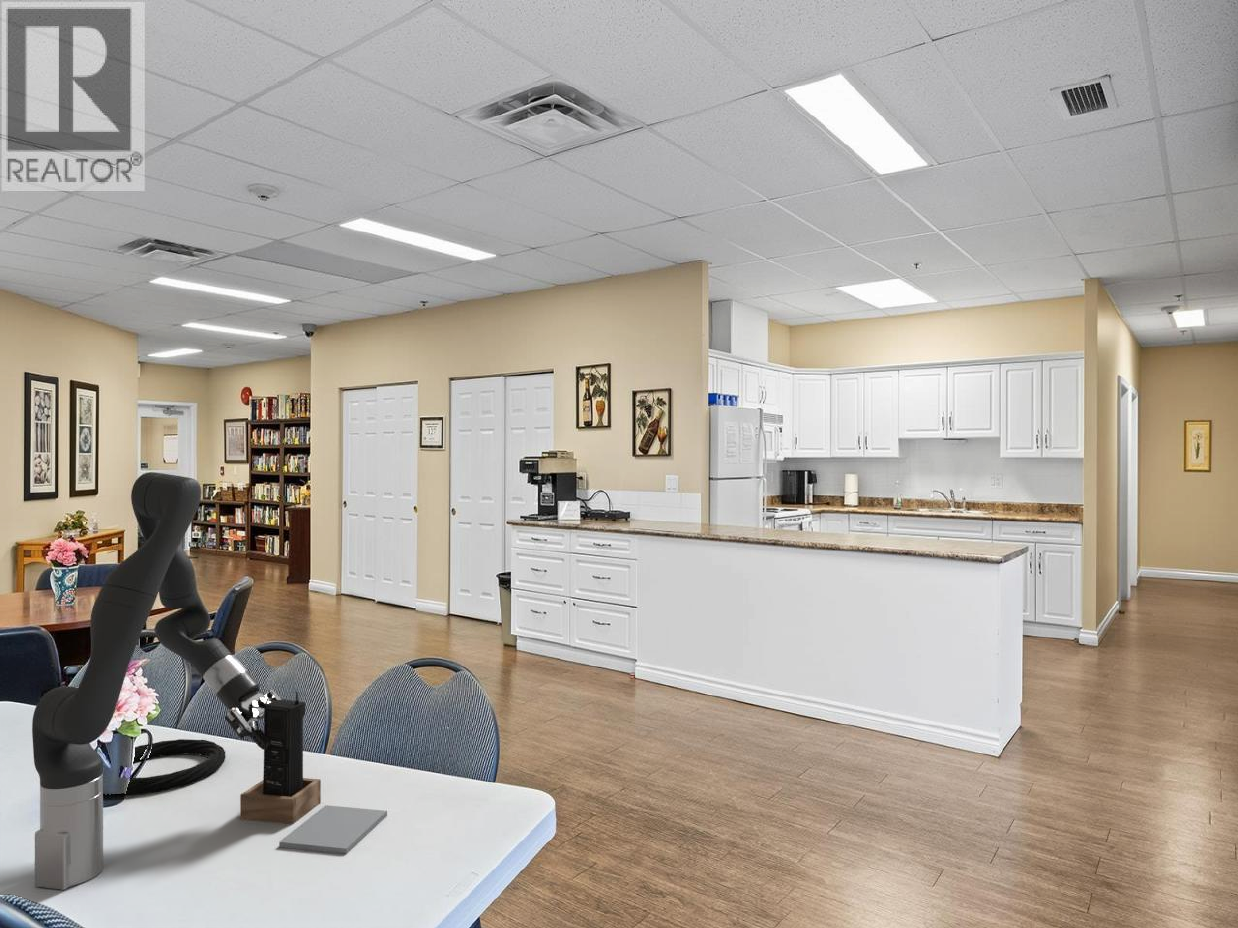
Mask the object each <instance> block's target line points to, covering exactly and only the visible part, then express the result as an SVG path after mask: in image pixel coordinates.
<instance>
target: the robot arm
mask: <svg viewBox="0 0 1238 928" xmlns="http://www.w3.org/2000/svg"><path fill="white" fill-rule="evenodd" d="M130 494H131V495H130V500H131V507H132V510H133V513H134V515H135V519H136V522H137V523H138V526H139V529H140V531H141V535H142V537H143V540H144V543H143V544H142V545H141V546H140V547H139V548H138V549H136V551H135V552H134V551H133V553H131V555H129V556H128V557H126V558H125V559H124V560H123V561H121V562H120V563H119V564H118V565H117V566H115V568H113V569H112V570H111V571H110V572H109V574H108V575H107V576H106V577H105V580H104V581H103V583H102V585H101V588H100V590H99V592H98V594H97V596H96V599H95V601H94V603H93V605H92V609H91V613H90V618H89V619H90V622H89V623H90V624H89V625H90V627H89V628H90V641H91V642H90V645H91V646H90V657H89V661H88V663H87V667H86V669H85V671H84V673H83V676H82V678H81V680H80V683H79V684H78V687H77V686H70V685H65V686H57V687H55V688H53V689H51V690H49V691H47V692H46V693H45V694H44V695H42V696H41V698H40V699H39V701H38V702H37V704H36V706H35V709H34V711H33V715H32V721H31V723H32V724H31V733H32V735H31V736H32V749H33V751H32V752H33V762H34V764H33V765H34V767H35V770H36V772H37V774H38V776H39V829H38V830H36V831H35V832H34V887H37V888H47V889H55V890H63V891H64V890H67V889H68V888H70V887H73V886H75V885H79V884H82V883H85V882H88V881H89V880H92V879H93V878H95V877H96V876H98V875H99V874H101V872H102V871H103V869H104V795H103V761H104V760H103V758H102V756H101V755H100V754H99V753H98V752H97V751H96V750H95V749H94V748H93V747H92V745H91V743H92V742H94V741H96V740H97V739H99V738H100V737H101V736H102V735H103V734H104V733H105V731H106V730H107V728H108V727H109V725H110V723H111V721H112V719H113V716H114V713H115V712H116V708H117V704H118V702H119V698H120V695H121V693H122V687H123V685H124V681H125V678H126V674H127V672H128V669H129V665H130V663H131V660H132V658H133V655H134V653H135V651H136V647H137V645H138V642H139V640H140V636H141V635H142V632H143V629H144V627H145V625H146V623H147V621H148V618H149V617H150V614H151V612H152V610H153V607H154V605H155V602H156V600H157V596H159V601H160V603H161V605H162V606H163V607H164V608H166V609H169V610H176V611H174V612H172V613H170V614H168V615H166V616H164V617H161V619H159V620H158V621H157V622H156V623H155V627H154V634H155V637H156V639H157V641H158V642H159V643H160V644H161V645H162V646H163V647H164V648H166V649H167V650H169V651H170V652H172V653H174V654H175V655H177V656H178V657H180V658H182V659H183V660H185V661H186V662H187V663H189V664H190V665H192V667H193V668H194V669H195V670H196V672H197V673H198V674H199V675H200V676H201V677H202V679H203V680H204V681H205V683H206V684H207V686H208V688H209V689H210V690H211V691H212V692H213V694H214V696H216V697H217V698H218V699H219V701H220V702H221V703H222V704H223V706H224V707H226V708H227V710H228V712H227V713H226V715H225V716H224V719H225V720H226V722H227V723H228V724H229V725H230V727H231V729H233V731H234V732H235V733H236V735H237V736H238V737H239V738H240V739H243V738H245V737H248V738H251V739H252V740H253V742H254V743H255V744H256V745H257V747H259V748H260V749H261V750H263V751H264V749H266V748H267V747H268V746H269V745H270V744H271V741H270V739H269V738H268V737H267V736H266V735H265V734H264V730H262V729H261V728H260V726H259V720H263V719H264V706H265V705H266V704H268V703H271V702H273V701H276V700H282V697H280V696H279V695H278V694H277V693H276V691H275V690H273V689H270V690H269V691H268V692H267V693H266V694H263V693H262V692H261V691H260V688H261V685H260V683H259V682H258V681H257V680H256V678H255V677H254V676H253V675H252V673H251V672H250V671H249V670H248V669H247V668H246V666H245V665H244V664H243V663H242V662H241V661H240V660H239V659H238V658H236V657H235V656H234V655H233V654H232V653H231V652H230V650H229V649H228V648H227V647H226V646H225V645H224V643H223V642H222V641H221V640H220V639H218V638H217V637H211V638H208V639H205V640H195V639H196V638H197V637H199V636H202V635H203V634H204V633H206V632H207V631H208V629H209V628H210V625H211V616H210V613H209V612H208V609H207V608H206V606H205V605H204V603H203V600H202V599H201V597H200V594H199V592H198V587H197V580H196V572H195V569H194V566H193V565H194V564H193V562H192V561H191V558H190V557H189V555H188V554H187V553H186V551H185V550H184V549H183V547H182V546H181V542H182V540H183V538H184V537H185V535H186V533H187V531H188V529H189V527H190V526H191V523H192V522H193V520H194V518H195V516H196V513H197V511H198V509H199V506H200V503H201V499H202V498H201V497H202V487H201V484H200V483H199V481H198V480H196V479H195V478H192V477H189V476H188V477H186V476H181V475H175V474H169V473H164V472H154V471H153V472H152V471H149V472H145V473H143V474H141V475H139V477H138V478H137V479H135V482H134V483H133V485H132V489H131V493H130ZM240 726H242V728H241V727H240Z"/></svg>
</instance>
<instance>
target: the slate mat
mask: <svg viewBox="0 0 1238 928" xmlns="http://www.w3.org/2000/svg"><path fill="white" fill-rule="evenodd" d="M387 816H388V810H384V809H383V810H381V809H380V810H379V809H371V808H370V809H368V808H362V807H359V808H358V807H348V806H339V805H330V804H329V805H328V804H327V805H323V806H322V808H320V809H319V810H318V811H316V812H315V813H314V814H312V816H311V815H310V817H309V818H307V819H305V821H303V822H302V823H301V824H300V825H299V826H297V827H296V828H295V829H293V830H292V831H291V832H290V833H288V834H287V835H286V836H285V837H283V838H282V839H280V840H279V846H278V847H279V848H285V849H294V850H298V849H299V850H304V851H305V850H306V851H315V852H325V853H335V854H344V855H345V854H346V855H347V854H349V852H350V851H352V850H353V849H354V848H355V847H356V846H357V845H358V844H360V842H361V841H362V840H363V839H364V838H366V836H367V835H369V833H371V832H372V831H373V830H374V829H375V828H376V827H377V826H378V825H379V824H380V823H381V822H382V821H384V819H385V818H387Z"/></svg>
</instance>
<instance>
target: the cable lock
mask: <svg viewBox="0 0 1238 928" xmlns="http://www.w3.org/2000/svg"><path fill="white" fill-rule="evenodd" d="M148 744H149V743H148ZM148 744H142V745H138V746H135V757H134V762H133V763H135V762H136V761H137V762H139V761H138V760H140V758H141V757H142V756H143V754H144V752H145V750H146V749H147V746H148ZM151 744H152V749H151V753H150V755H149V759H152V758H156V756H157V757H161V756H160V755H165V756H171V755H177V754H176V753H193V754H194V755H199V754H201V755H200V756H202V755H204V756H203V757H207V756H208V757H207V759H206V760H205V761H204V760H203V762H199V763H198V764H196V765H194V766H191V767H189V768H185V769H181V770H178V771H174V772H171V773H168V774H167V773H166V774H160V775H154V776H153V775H152V776H147V777H131V778H132V779H131V780H130V782H129V784H128V787H127V791H126V794H125V795H128V796H129V795H131V796H134V795H136V796H137V795H145V794H150V793H154V794H155V793H161V792H166V791H169V790H172V789H176V788H182V787H186V786H188V785H191V784H194V783H196V782H198V781H200V779H201V780H203V779H205V778H207V777H209V776H211V775H212V774H214V773H215V772H216V771H218V770H219V769H220V768H221V767H222V765H223V764H224V763H225V761H226V750H225V748H223V746H221V745H219V744H218V743H216V742H213V741H210V740H206V739H189V738H188V739H181V738H180V739H174V740H172V739H171V740H161V741H157V742H154V743H151ZM196 753H197V754H196ZM193 754H192V755H193ZM137 762H136V763H137ZM217 769H218V770H217ZM202 778H203V779H202Z"/></svg>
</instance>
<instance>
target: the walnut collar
mask: <svg viewBox="0 0 1238 928" xmlns="http://www.w3.org/2000/svg"><path fill="white" fill-rule="evenodd" d="M321 781H322V779H320V778H319V779H318V778H307V777H303V789H302V790H301V791H299V792H298V793H296V794H295V795H294V796H292V797H287V796H276V795H265V794H263V779H262V780H261V781H259V782H258V783H256V784H255V785H253V786H252V787H250V788H248V789H247V790H245V791H244V792H242V793H240V796H239V797H240V805H239V806H240V810H239V811H240V814H239V816H240V820H249V821H261V822H267V823H268V822H269V823H281V824H290V825H291V824H292V825H293V824H295V823H297V821H299V820H300V819H302V818H303V817H304V816H305V815H306V814H308V813H309V812H310V811H312V810H313V809H314V808H315V807H317V806H318V805H319V804H321V802H322V799H321V797H322V795H321V793H322V792H321V791H322V789H321V788H322V786H321V785H322V783H321Z"/></svg>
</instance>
